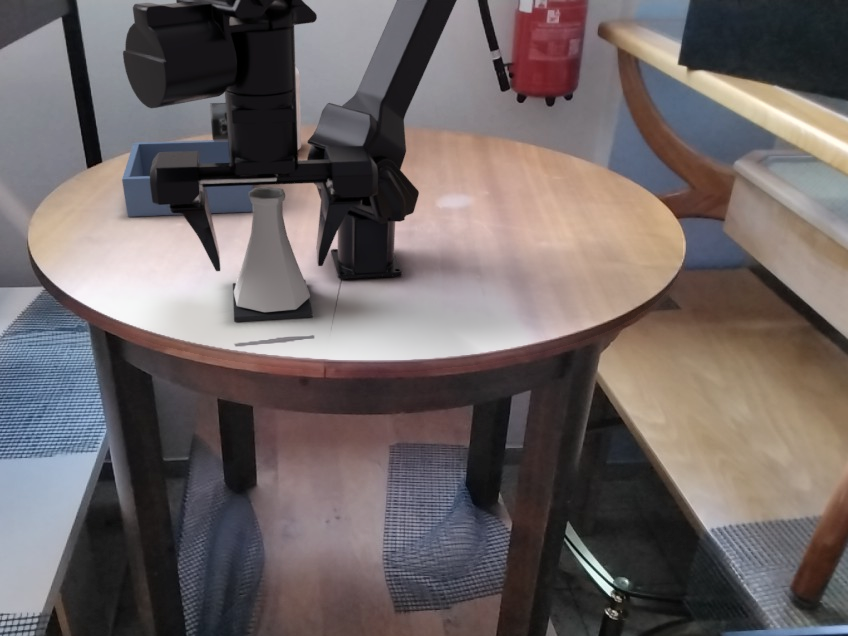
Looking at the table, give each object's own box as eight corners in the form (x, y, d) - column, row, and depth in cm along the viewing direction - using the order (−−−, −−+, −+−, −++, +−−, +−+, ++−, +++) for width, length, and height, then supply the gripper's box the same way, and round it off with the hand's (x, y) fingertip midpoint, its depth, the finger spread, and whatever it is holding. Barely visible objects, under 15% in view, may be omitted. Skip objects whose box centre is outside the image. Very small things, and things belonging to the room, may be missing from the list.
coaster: (312, 317, 71) (312, 312, 71) (234, 322, 70) (233, 317, 70) (305, 283, 77) (305, 279, 77) (233, 287, 76) (232, 283, 76)
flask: (315, 282, 76) (314, 180, 71) (304, 317, 70) (302, 209, 65) (242, 278, 77) (234, 177, 71) (224, 312, 71) (215, 205, 65)
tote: (254, 211, 93) (251, 174, 91) (127, 217, 91) (121, 179, 89) (249, 172, 105) (247, 138, 103) (138, 176, 104) (133, 142, 101)
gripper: (360, 65, 71) (357, 229, 80) (148, 69, 69) (169, 237, 77) (381, 94, 62) (376, 276, 70) (138, 99, 60) (162, 287, 68)
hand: (269, 266), depth 72 cm, fingers open, 9 cm apart
